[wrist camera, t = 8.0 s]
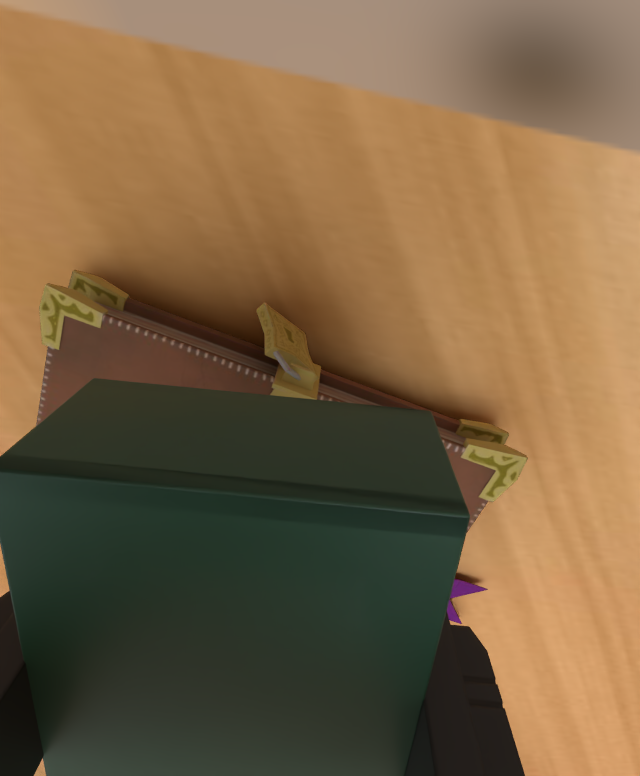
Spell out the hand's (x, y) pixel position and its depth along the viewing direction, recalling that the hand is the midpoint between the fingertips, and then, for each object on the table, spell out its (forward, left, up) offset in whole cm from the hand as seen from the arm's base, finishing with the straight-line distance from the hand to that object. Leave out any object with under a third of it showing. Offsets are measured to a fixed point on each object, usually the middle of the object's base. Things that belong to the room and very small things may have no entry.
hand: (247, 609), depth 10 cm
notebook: (0, 0, -1) cm, 1 cm away
